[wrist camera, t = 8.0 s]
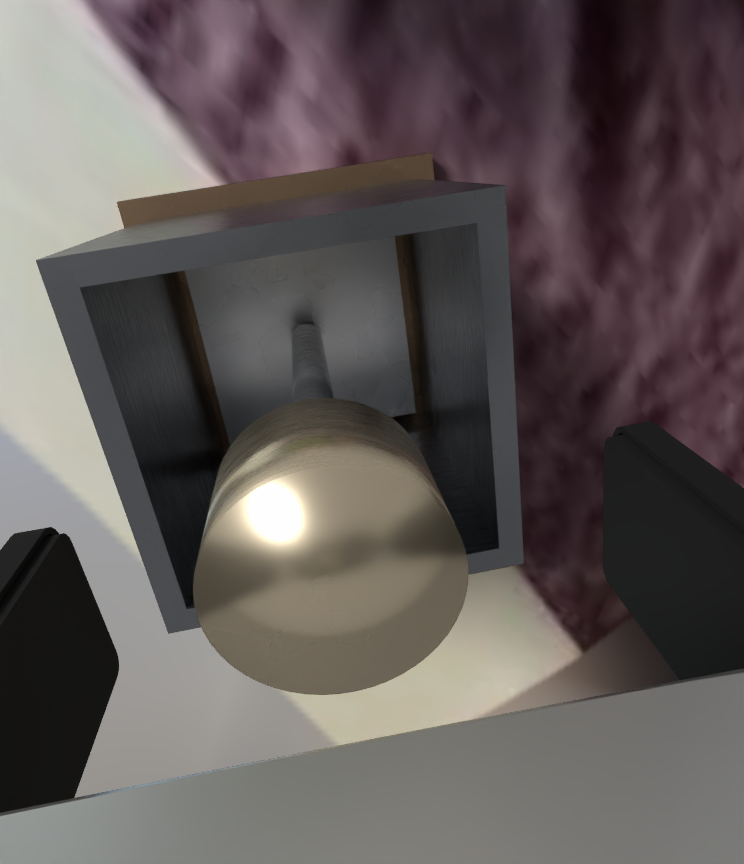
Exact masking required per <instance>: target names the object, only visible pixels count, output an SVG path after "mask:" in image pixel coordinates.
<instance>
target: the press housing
mask: <svg viewBox="0 0 744 864" xmlns="http://www.w3.org/2000/svg"><path fill="white" fill-rule="evenodd" d="M117 204H118V208H119V211H120V214H121V218H122V221H123V225H124V229H121V230H118V231H116V232H113V233H110V234H107V235H105V236H102V237H99V238H96V239H94V240H91V241H88V242H85V243H82V244H80V245H77V246H74V247H71V248H69V249H66V250H63V251H60V252H58V253H55V254H52V255H49V256H46V257H44V258H41V259H38V260H36V262H37V265H38V268H39V271H40V274H41V276H42V279H43V282H44V285H45V288H46V290H47V293H48V296H49V299H50V302H51V305H52V307H53V310H54V313H55V316H56V319H57V321H58V324H59V327H60V330H61V333H62V336H63V338H64V341H65V344H66V347H67V350H68V352H69V355H70V358H71V361H72V364H73V366H74V369H75V372H76V375H77V378H78V381H79V383H80V386H81V389H82V392H83V395H84V397H85V400H86V403H87V406H88V409H89V411H90V414H91V417H92V420H93V423H94V426H95V428H96V431H97V434H98V437H99V440H100V442H101V445H102V448H103V451H104V454H105V456H106V459H107V462H108V465H109V468H110V471H111V473H112V476H113V479H114V482H115V485H116V487H117V490H118V493H119V496H120V499H121V501H122V504H123V507H124V510H125V513H126V516H127V518H128V521H129V524H130V527H131V530H132V532H133V535H134V538H135V541H136V544H137V547H138V549H139V552H140V555H141V558H142V561H143V563H144V566H145V569H146V572H147V575H148V577H149V580H150V583H151V586H152V589H153V592H154V594H155V597H156V600H157V603H158V606H159V608H160V611H161V614H162V617H163V620H164V622H165V625H166V628H167V631H168V633H174V632H179V631H184V630H189V629H194V628H199V627H201V625H200V623H199V620H198V618H197V614H196V610H195V605H194V597H193V581H194V572H195V567H196V563H197V559H198V554H199V550H200V546H201V541H202V537H203V533H204V529H205V524H206V520H207V516H208V511H209V507H210V503H211V499H212V494H213V490H214V486H215V481H216V478H217V474H218V470H219V467H220V465H221V462H222V460H223V458H224V456H225V454H226V452H227V451H228V449H229V447H230V443H229V439H228V435H227V431H226V428H225V424H224V420H223V416H222V412H221V408H220V405H219V401H218V397H217V393H216V389H215V385H214V382H213V378H212V374H211V370H210V366H209V362H208V359H207V355H206V351H205V347H204V343H203V339H202V336H201V332H200V328H199V324H198V320H197V316H196V313H195V309H194V305H193V301H192V297H191V293H190V290H189V286H188V282H187V278H186V274H185V270H190V269H196V268H202V267H209V266H215V265H221V264H227V263H233V262H239V261H245V260H251V259H258V258H264V257H270V256H276V255H282V254H288V253H294V252H301V251H307V250H313V249H319V248H325V247H331V246H337V245H343V244H350V243H356V242H362V241H368V240H374V239H380V238H386V237H393V236H395V244H396V252H397V261H398V269H399V277H400V285H401V294H402V302H403V310H404V318H405V327H406V335H407V343H408V351H409V359H410V368H411V376H412V384H413V392H414V401H415V409H416V413H412V414H406V415H401V416H395V417H391V418H392V419H393V420H395V421H396V422H397V423H398V424H400V425H401V426H402V427H403V428H404V429H405V430H406V431H407V432H408V433H409V434H410V436H411V437H412V439H413V440H414V441H415V443H416V444H417V446H418V448H419V449H420V451H421V453H422V455H423V457H424V459H425V461H426V463H427V466H428V468H429V470H430V472H431V474H432V476H433V478H434V480H435V483H436V485H437V487H438V489H439V491H440V493H441V495H442V497H443V500H444V502H445V504H446V506H447V508H448V510H449V512H450V515H451V517H452V519H453V521H454V523H455V525H456V527H457V529H458V532H459V534H460V536H461V539H462V541H463V544H464V547H465V550H466V556H467V561H468V575H469V574H474V573H479V572H484V571H489V570H494V569H499V568H504V567H509V566H514V565H519V564H524V556H523V536H522V516H521V495H520V475H519V455H518V434H517V414H516V394H515V373H514V353H513V333H512V312H511V292H510V271H509V251H508V231H507V210H506V190H505V185H494V184H481V183H467V182H454V181H440V180H434V169H433V158H432V153H427V154H421V155H414V156H408V157H402V158H395V159H389V160H382V161H376V162H369V163H363V164H357V165H350V166H344V167H337V168H331V169H324V170H318V171H312V172H305V173H299V174H292V175H286V176H279V177H273V178H267V179H260V180H254V181H247V182H241V183H234V184H228V185H222V186H215V187H209V188H202V189H196V190H189V191H183V192H177V193H170V194H164V195H157V196H151V197H144V198H138V199H132V200H125V201H120V202H117Z"/></svg>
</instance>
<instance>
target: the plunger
mask: <svg viewBox="0 0 744 864" xmlns="http://www.w3.org/2000/svg"><path fill="white" fill-rule="evenodd" d="M185 274H186V278H187V282H188V286H189V290H190V293H191V297H192V301H193V305H194V309H195V313H196V316H197V320H198V324H199V328H200V332H201V336H202V339H203V343H204V347H205V351H206V355H207V359H208V362H209V366H210V370H211V374H212V378H213V382H214V385H215V389H216V393H217V397H218V401H219V405H220V408H221V412H222V416H223V420H224V424H225V428H226V431H227V435H228V439H229V443H230V447H229V449H228V451H227V452H226V454H225V456H224V458H223V460H222V462H221V465H220V467H219V470H218V474H217V478H216V481H215V486H214V490H213V494H212V499H211V503H210V507H209V511H208V516H207V520H206V524H205V529H204V533H203V537H202V541H201V546H200V550H199V554H198V559H197V563H196V567H195V572H194V581H193V597H194V605H195V610H196V614H197V618H198V620H199V623H200V625H201V627H202V630H203V632H204V633H205V635H206V637H207V638H208V640H209V642H210V643H211V645H212V646H213V647H214V648H215V649H216V651H217V652H218V653H219V654H220V656H222V657H223V658H224V659H225V660H226V661H227V662H228V663H229V664H230V665H232V666H233V667H234V668H236V669H237V670H239V671H240V672H242V673H243V674H245V675H246V676H249V677H250V678H252V679H254V680H256V681H258V682H260V683H263V684H265V685H268V686H271V687H273V688H277V689H281V690H285V691H289V692H295V693H302V694H315V695H328V694H341V693H348V692H354V691H359V690H362V689H366V688H370V687H373V686H376V685H379V684H381V683H384V682H387V681H389V680H391V679H393V678H395V677H397V676H399V675H401V674H403V673H405V672H406V671H408V670H409V669H411V668H413V667H414V666H416V665H417V664H418V663H420V662H421V661H422V660H423V659H425V658H426V657H427V656H428V655H429V654H430V653H431V652H432V651H433V650H435V649H436V648H437V647H438V646H439V644H440V643H441V642H442V641H443V639H444V638H445V637H446V636H447V635H448V633H449V632H450V630H451V628H452V627H453V625H454V624H455V622H456V620H457V618H458V616H459V613H460V611H461V609H462V606H463V603H464V600H465V596H466V592H467V585H468V561H467V556H466V550H465V547H464V544H463V541H462V539H461V536H460V534H459V532H458V529H457V527H456V525H455V523H454V521H453V519H452V517H451V515H450V512H449V510H448V508H447V506H446V504H445V502H444V500H443V497H442V495H441V493H440V491H439V489H438V487H437V485H436V483H435V480H434V478H433V476H432V474H431V472H430V470H429V468H428V466H427V463H426V461H425V459H424V457H423V455H422V453H421V451H420V449H419V448H418V446H417V444H416V443H415V441H414V440H413V439H412V437H411V436H410V434H409V433H408V432H407V431H406V430H405V429H404V428H403V427H402V426H401V425H400V424H398V423H397V422H396V421H395V420H393V419H392V418H391V417H395V416H401V415H406V414H412V413H416V409H415V401H414V392H413V384H412V376H411V368H410V359H409V351H408V343H407V335H406V327H405V318H404V310H403V302H402V294H401V285H400V277H399V269H398V261H397V252H396V244H395V236H393V237H386V238H380V239H374V240H368V241H362V242H356V243H350V244H343V245H337V246H331V247H325V248H319V249H313V250H307V251H301V252H294V253H288V254H282V255H276V256H270V257H264V258H258V259H251V260H245V261H239V262H233V263H227V264H221V265H215V266H209V267H202V268H196V269H190V270H185Z"/></svg>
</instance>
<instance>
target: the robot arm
mask: <svg viewBox="0 0 744 864" xmlns="http://www.w3.org/2000/svg"><path fill="white" fill-rule="evenodd" d="M603 569H604V573H605V577H606V579H607V581H608V583H609V584H610V586H611V587H612V589H613V590H614V591H615V593H616V594H617V595H618V597H619V598H620V599H621V601H622V602H623V603H624V605H625V606H626V608H627V609H628V610H629V612H630V613H631V614H632V616H633V617H634V618H635V620H636V621H637V622H638V624H639V625H640V627H641V628H642V629H643V630H644V632H645V633H646V635H647V636H648V637H649V639H650V640H651V641H652V643H653V644H654V646H655V647H656V648H657V650H658V651H659V652H660V654H661V655H662V656H663V657H664V659H665V660H666V662H667V663H668V664H669V666H670V667H671V669H672V670H673V671H674V673H675V674H676V675H677V676H678V678H679V679H680V680H679V681H674V682H669V683H664V684H658V685H653V686H648V687H643V688H637V689H632V690H627V691H621V692H616V693H611V694H606V695H600V696H595V697H590V698H584V699H579V700H574V701H568V702H563V703H558V704H552V705H547V706H542V707H536V708H531V709H526V710H521V711H516V712H510V713H505V714H500V715H495V716H489V717H484V718H479V719H473V720H468V721H463V722H458V723H453V724H447V725H442V726H437V727H432V728H427V729H422V730H416V731H411V732H406V733H401V734H396V735H391V736H385V737H380V738H375V739H370V740H365V741H360V742H355V743H349V744H344V745H339V746H334V747H329V748H324V749H319V750H314V751H309V752H303V753H298V754H293V755H288V756H283V757H278V758H273V759H268V760H263V761H257V762H252V763H247V764H242V765H237V766H232V767H227V768H223V769H217V770H212V771H207V772H202V773H198V774H192V775H187V776H182V777H177V778H172V779H167V780H162V781H157V782H152V783H147V784H142V785H137V786H132V787H127V788H122V789H117V790H112V791H107V792H102V793H97V794H92V795H87V796H82V797H77V798H74V797H75V794H76V791H77V788H78V786H79V783H80V780H81V777H82V774H83V771H84V769H85V766H86V763H87V760H88V757H89V755H90V752H91V749H92V746H93V744H94V740H95V738H96V735H97V732H98V729H99V727H100V724H101V721H102V718H103V715H104V713H105V710H106V707H107V704H108V701H109V699H110V696H111V693H112V690H113V687H114V685H115V682H116V679H117V676H118V671H119V661H118V655H117V652H116V649H115V647H114V644H113V642H112V639H111V637H110V635H109V632H108V630H107V627H106V625H105V622H104V620H103V617H102V615H101V613H100V610H99V608H98V605H97V603H96V600H95V598H94V595H93V593H92V590H91V588H90V586H89V583H88V581H87V578H86V576H85V573H84V571H83V569H82V566H81V564H80V561H79V559H78V556H77V554H76V551H75V549H74V547H73V544H72V542H71V540H70V538H69V537H68V536H67V535H66V534H64V533H63V534H59V533H58V532H57V531H56V530H55V529H54V528H51V527H49V528H44V529H38V530H32V531H26V532H21V533H15V534H14V535H12V536H11V537H10V539H9V540H8V541H7V543H6V544H5V545H4V547H3V548H2V549H1V550H0V864H744V488H743V487H741V486H740V485H738V484H737V483H736V482H734V481H733V480H732V479H730V478H729V477H727V476H726V475H725V474H723V473H722V472H721V471H719V470H718V469H717V468H715V467H714V466H712V465H711V464H710V463H708V462H707V461H706V460H704V459H703V458H701V457H700V456H699V455H697V454H696V453H695V452H693V451H692V450H690V449H689V448H688V447H686V446H685V445H684V444H682V443H681V442H679V441H678V440H677V439H675V438H674V437H673V436H671V435H670V434H669V433H667V432H666V431H664V430H663V429H662V428H660V427H659V426H658V425H656V424H655V423H653V422H645V423H639V424H633V425H628V426H622V427H617V428H616V429H615V431H614V434H613V436H612V437H608V438H607V439H606V441H605V447H604V505H603Z"/></svg>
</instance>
